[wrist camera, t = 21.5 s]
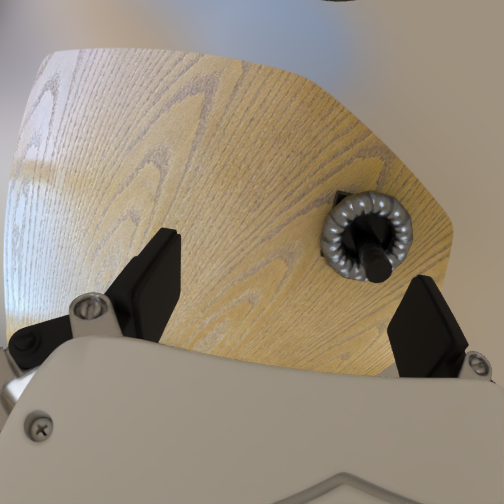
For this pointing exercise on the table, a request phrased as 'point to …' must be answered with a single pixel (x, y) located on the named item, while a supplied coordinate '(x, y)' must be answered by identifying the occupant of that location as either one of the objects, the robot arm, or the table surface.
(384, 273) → the black peg stand
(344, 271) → the dark gray twisted ring
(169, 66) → the table surface
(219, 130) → the table surface
